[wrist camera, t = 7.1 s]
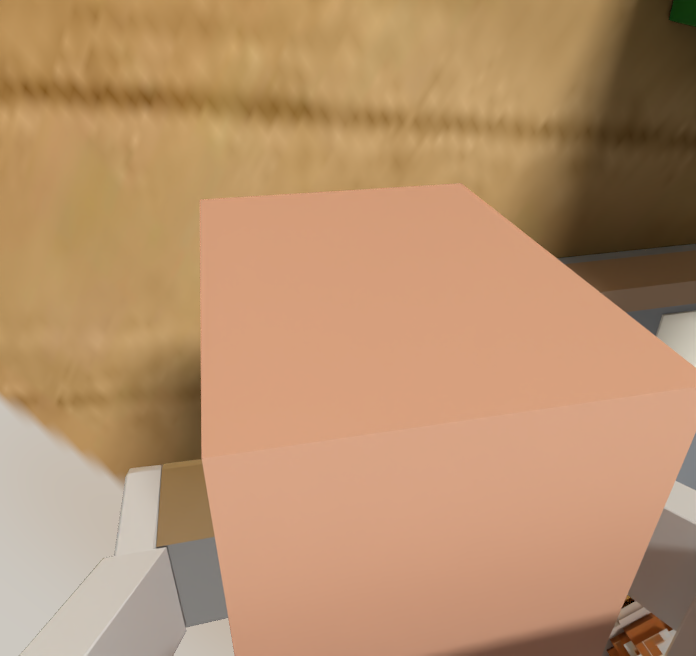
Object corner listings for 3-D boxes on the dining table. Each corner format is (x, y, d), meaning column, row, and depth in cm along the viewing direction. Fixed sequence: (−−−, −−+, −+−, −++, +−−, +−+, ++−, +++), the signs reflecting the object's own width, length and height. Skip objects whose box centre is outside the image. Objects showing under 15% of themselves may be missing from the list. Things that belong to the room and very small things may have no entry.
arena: (485, 265, 23) (523, 301, 20) (888, 223, 27) (963, 249, 24) (445, 584, 33) (466, 635, 30) (740, 521, 37) (781, 562, 34)
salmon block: (199, 199, 9) (200, 459, 4) (461, 183, 10) (716, 383, 5) (242, 531, 13) (268, 860, 8) (426, 500, 14) (547, 781, 9)
